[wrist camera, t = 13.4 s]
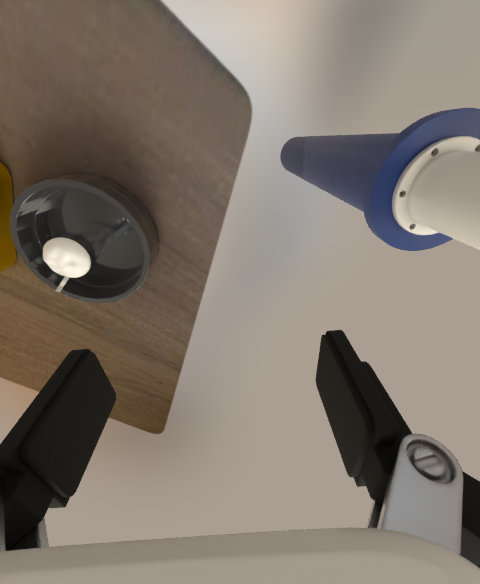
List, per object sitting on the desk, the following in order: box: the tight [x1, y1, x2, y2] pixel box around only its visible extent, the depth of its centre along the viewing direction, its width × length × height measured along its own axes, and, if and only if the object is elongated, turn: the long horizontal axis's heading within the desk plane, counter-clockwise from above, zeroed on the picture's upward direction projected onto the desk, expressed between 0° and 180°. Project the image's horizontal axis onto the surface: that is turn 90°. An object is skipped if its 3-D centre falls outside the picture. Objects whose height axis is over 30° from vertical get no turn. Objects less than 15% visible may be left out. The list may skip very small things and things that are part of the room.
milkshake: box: [43, 222, 113, 292], centre depth 29 cm, size 4×5×10 cm
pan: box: [10, 174, 158, 303], centre depth 32 cm, size 15×15×5 cm
